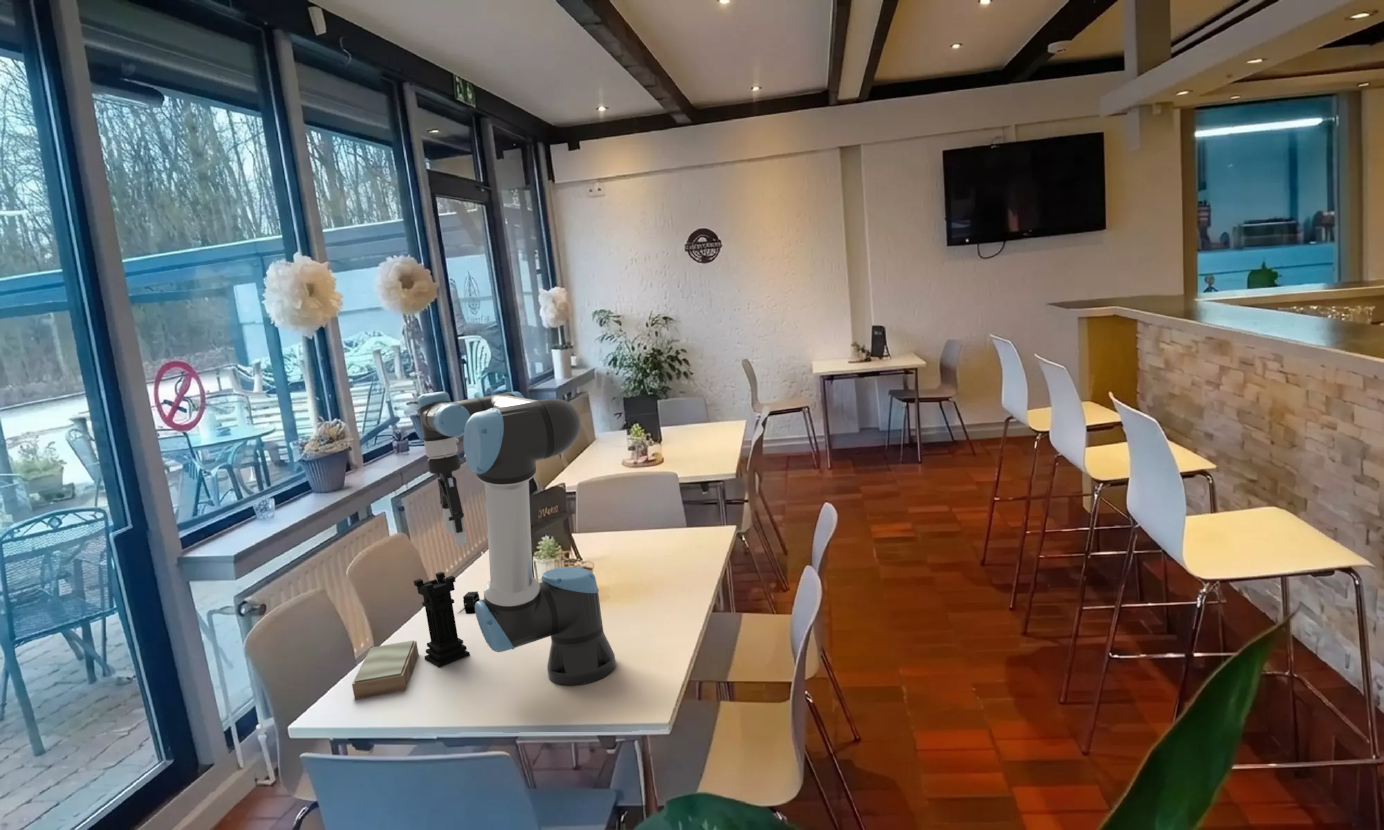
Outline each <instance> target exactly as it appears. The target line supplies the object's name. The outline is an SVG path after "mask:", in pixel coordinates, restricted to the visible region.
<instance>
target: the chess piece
mask: <svg viewBox="0 0 1384 830" xmlns="http://www.w3.org/2000/svg"><path fill="white" fill-rule="evenodd" d="M454 583H456V577H455V576H454V575H450V576H447V577H446V574H445V572H443V571H440V572H437V573H435V578H434V579H431V580H428V581H426V582H425V581H424V580H423V579H421V578H417V579H414V580H413V585H414V587H416V589H417V594H419V595H422V596H423V601H422V602H421V604H422V607H424V609H425V615H426V620H427V625H428V632H429V638H430V641H429V642H427V643H426V647H427V648H426V649H425V653H426V654H427V655H424V656H423V657H424V660H426V661H427V662H429V663H430V664H432V665H434V666H436V667H437V668H442V667H445V666H447V665H450V664H452V663H454V662H457V661H459V660H462V659H465V658H467V657H470V656H471V652H469V651H468V650H467V646H466V645H465V644H464V640H463V639H462V638H460V637H459V635H458V630H457V624H456V618H455V613H454V612H455V611H454V605H453V604H455V599H453V598H452V594H451V592H453V591H455V585H454Z"/></svg>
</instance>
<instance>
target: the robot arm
mask: <svg viewBox="0 0 1384 830" xmlns="http://www.w3.org/2000/svg"><path fill="white" fill-rule="evenodd" d="M417 405H418V406H417V407H418V408H417V410H418V413H419V418H420V423H421V430H422V431H421V432H422V435H423V444H424V450H425V455H426V457H428V458H427V460H426V461H427V467H428V472H429V473H430V474H431V475H437V483H438V491H439V503H440V504H441V508H442V513H443V514H442V516H443V519H444V520H443V521H444V527H445V532H446V533H445V534H446V535H450V534H452V535H453V540H454V546H455V547H459V546H462V545H463V546H464V545H467V544H468V542H467V535H466V529H465V523H464V515H465V514H464V511H463V507H462V503H461V498H460V494H459V489H458V485H457V483H458V482H457V478H456V477H455V476H454V474H453V472H455V471H458V470H460V469H461V467H462V466H461V461H460V454H458V453H457V452H458V451H459V448H458V444H459V442H460V440H459V439H458V438H456V437H458V436H461V435H463V452H464V453H465V456H464V457H465V461H466V464H467V466H468V468H469V470H470V471H471V472H472V473H474V474H475V475H476V478H477V479H478V480H479V481H480V482H481V483H483V484H484V494H485V495H484V496H485V511H486V526H487V527H486V528H487V541H488V545H487V546H488V557H489V558H488V559H489V560H488V562H489V575H490V581H488V583H486V585H484V588H483V599H481V598H479V599H480V600H479V601H477V602H476V604H475V617H476V620H477V623H478V626H479V629H480V631H481V633H482V636H483V638H484V640H485V642H486V643H487V646H488V647H489V648H490V649H491V650H492V651H493V652H496V653H503V652H506V651H510V650H515V648H519V647H522V646H524V645H527V644H531V643H534V642H537V641H540V640H542V639H545V638H548V637H550V641H551V644H550V649H549V655H548V660H547V669H546V670H547V675H548V678H549V680H550V681H551V682H553V683H556V684H558V685H562V686H563V685H564V686H579V685H585V684H589V683H592V682H596V681H598V680H601V679H603V678H605V677H606V676H608V675H610V674H611V673H613V671H614V670H615V668H616V665H617V662H616V655H615V653H614V650H613V649H612V646H611V645H610V641H608V639H607V637H606V634H605V632H604V625H603V620H602V611H601V604H600V603H601V602H600V595H599V592H600V591H599V588H598V584H597V578H596V576H595V574H594V573H593V571H591V570H589V569H587V568H581V567H575V566H574V567H571V566H570V567H556V568H553V569H548V570H547V571H545V572H544V573H542V575H541V578H540V579H541V582H539V581H538V580H537V578H535V577H533V559H532V558H533V557H532V537H531V536H532V532H531V531H532V530H531V529H532V528H531V505H530V502H531V501H530V482H529V481H530V480H531V479H533V478H534V477H535V475H536V473H537V462H538V461H542V460H546V459H549V458H553V457H557V456H559V455H561V454H563V453H564V452H565V453H566V451H568V450H569V449H571V447H572V446H574V444H575V443H576V442H577V440H578V437H579V436H580V433H581V428H582V420H581V417H580V414H579V411H578V410H577V408H576V407H575V406H574V405H572V403H570V402H569V401H566V400H563V399H558V398H553V397H552V398H551V397H550V398H546V399H540V400H536V399H530V398H525V396H523V394H522V393H521V392H520V391H511V392H510V391H506V392H503V393H497V394H493V395H488V396H481V397H475V398H474V397H473V398H469V399H463V400H456V401H451V397H450V394H449V393H448V392H447V391H437V392H428V393H423V394H420V395H419V396H418V397H417Z"/></svg>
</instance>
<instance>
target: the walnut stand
mask: <svg viewBox="0 0 1384 830" xmlns="http://www.w3.org/2000/svg"><path fill="white" fill-rule="evenodd" d="M418 657H419V648H418V642H417V640H415V639H414V640H407V641H402V642H397V643H395V642H394V643H391V644H384V645H379V646H373V647H370V648H369V650H368V652H367V654H366V656H365V658H364V659H363V662H362V664H361V666H360V668H359V669H358V671H357V674H356V676H355V678H354V679H353V681H352V683H351V687H352V692H353V696H354V700H361V699H366V698H371V697H375V696H376V697H377V696H381V695H388V694H393V693H399V692H405V691H406V690H407V688H408V685H409V682H410V679H411V677H412V674H413V671H414V668H415V665H416V663H417V661H418Z"/></svg>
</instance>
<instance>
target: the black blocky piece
mask: <svg viewBox="0 0 1384 830" xmlns="http://www.w3.org/2000/svg"><path fill="white" fill-rule="evenodd" d="M462 598H463V600H462V601H463V606H464V607H463V608H462V609H461V610H460V611H459V612H457V615H474V614H475V615H476V613H475V604H476V602H477V601H479V600H480V599H481V598H480V594H479V591H468V592H466V594H464V595H463V597H462Z"/></svg>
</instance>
